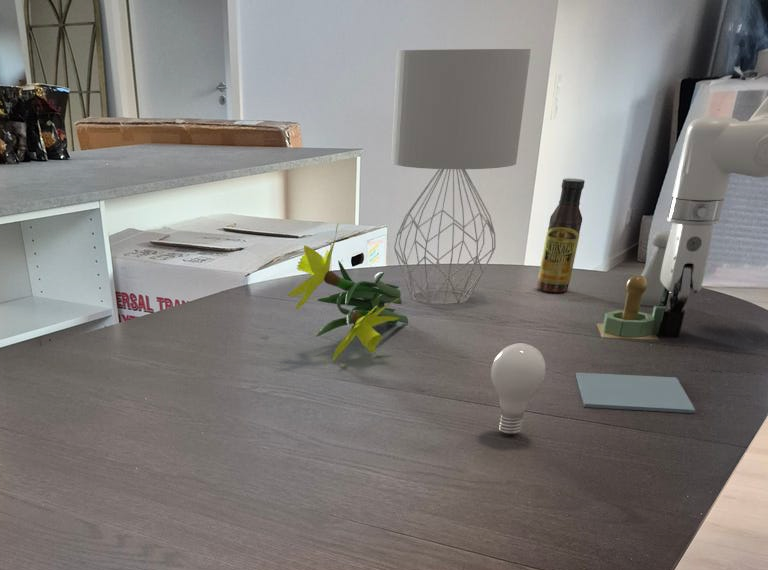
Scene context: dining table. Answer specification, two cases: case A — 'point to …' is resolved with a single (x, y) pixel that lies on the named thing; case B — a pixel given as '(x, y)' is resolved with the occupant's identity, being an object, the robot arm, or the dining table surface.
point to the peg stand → (631, 305)
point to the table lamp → (456, 129)
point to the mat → (633, 392)
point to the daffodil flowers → (350, 299)
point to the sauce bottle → (562, 239)
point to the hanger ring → (633, 323)
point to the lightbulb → (516, 382)
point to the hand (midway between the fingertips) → (665, 332)
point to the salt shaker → (655, 271)
